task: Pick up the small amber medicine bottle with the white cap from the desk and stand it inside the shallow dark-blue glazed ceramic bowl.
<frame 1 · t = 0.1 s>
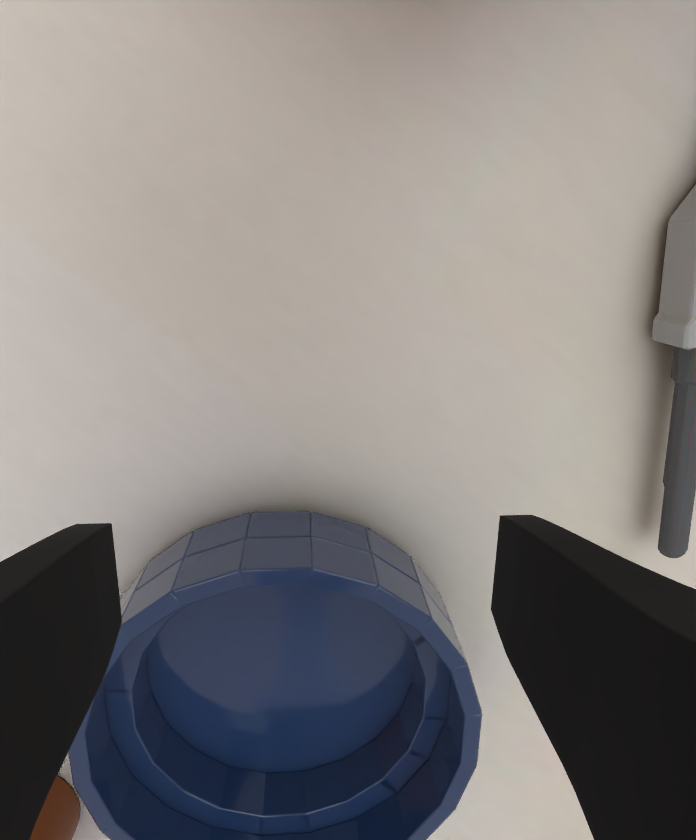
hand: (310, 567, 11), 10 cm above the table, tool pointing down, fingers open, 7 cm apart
bowl: (283, 656, 23), on the table
bottle: (20, 808, 24), on the table
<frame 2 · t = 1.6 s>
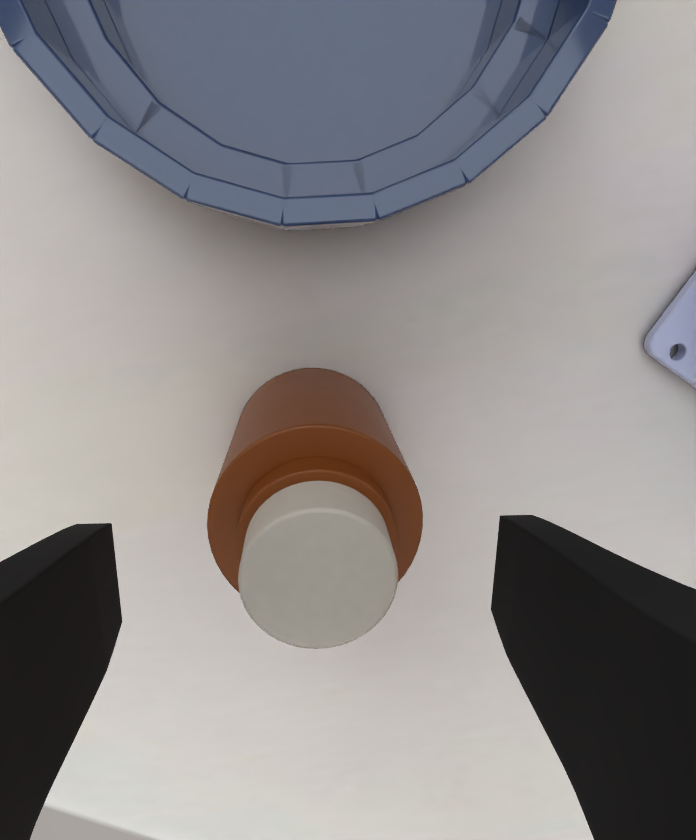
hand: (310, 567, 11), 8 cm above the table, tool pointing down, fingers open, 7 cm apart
bottle: (312, 441, 19), on the table
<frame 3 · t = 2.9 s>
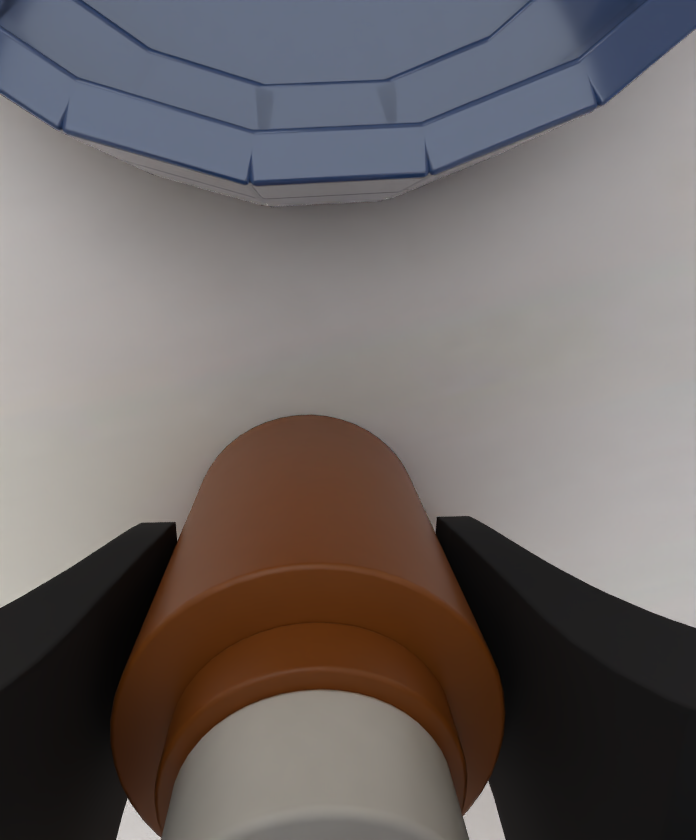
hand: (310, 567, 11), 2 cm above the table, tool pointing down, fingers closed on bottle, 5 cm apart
bottle: (307, 519, 13), on the table, touching gripper
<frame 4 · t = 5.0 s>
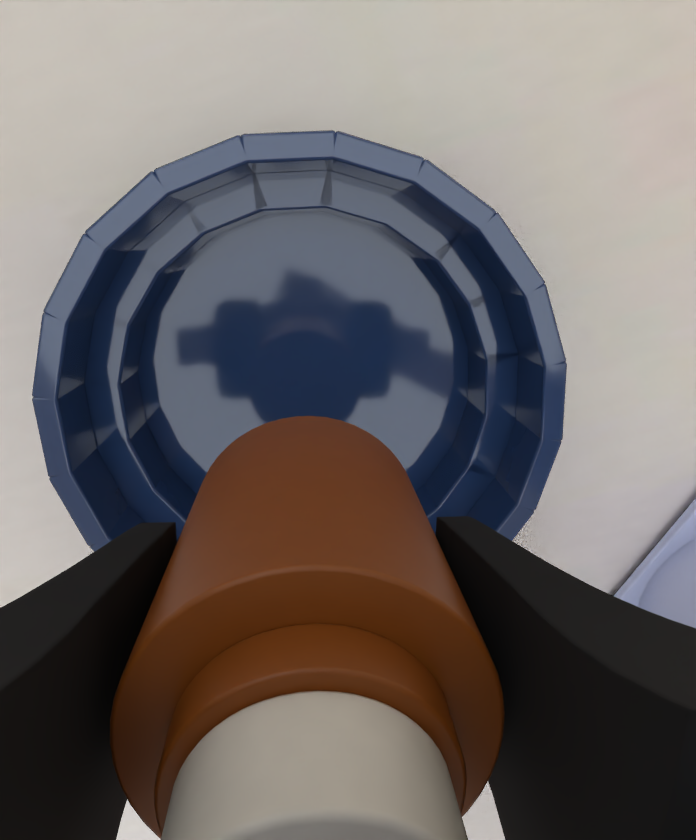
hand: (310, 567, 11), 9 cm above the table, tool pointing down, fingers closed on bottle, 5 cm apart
bowl: (307, 380, 19), on the table
bottle: (307, 520, 13), point 7 cm above the table, touching gripper
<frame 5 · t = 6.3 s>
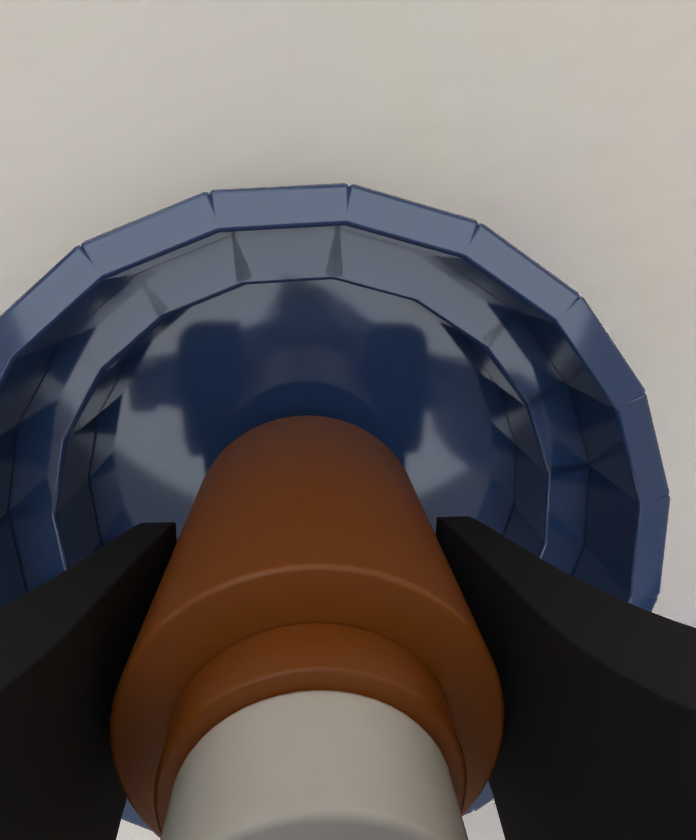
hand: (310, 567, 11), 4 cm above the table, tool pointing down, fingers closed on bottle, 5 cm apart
bowl: (308, 482, 15), on the table
bottle: (307, 519, 13), point 2 cm above the table, touching gripper
when the fingers open (3 cm above the table, at t = 7.3 s): bottle stays where it is, resting on bowl.
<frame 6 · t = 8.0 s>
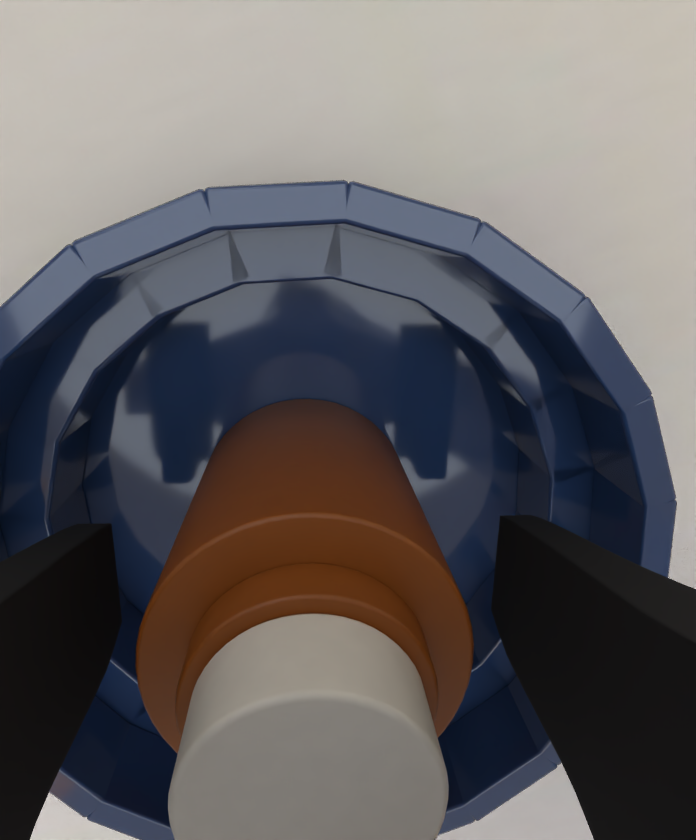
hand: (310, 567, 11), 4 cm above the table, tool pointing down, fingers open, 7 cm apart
bowl: (307, 485, 15), on the table
bottle: (305, 495, 14), point 1 cm above the table, touching bowl
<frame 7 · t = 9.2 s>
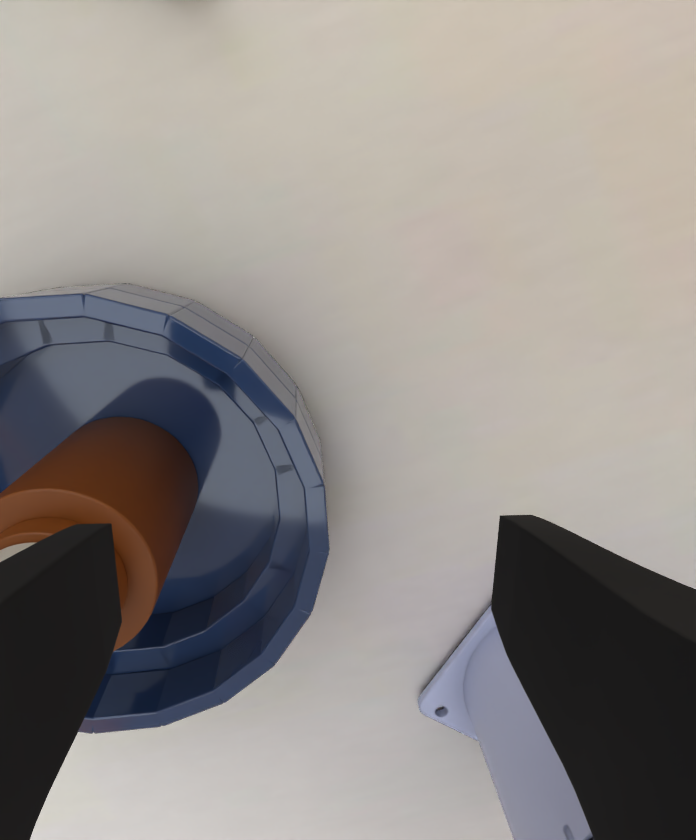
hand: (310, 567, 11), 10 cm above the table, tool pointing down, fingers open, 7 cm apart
bowl: (133, 477, 21), on the table
bottle: (126, 484, 20), point 1 cm above the table, touching bowl
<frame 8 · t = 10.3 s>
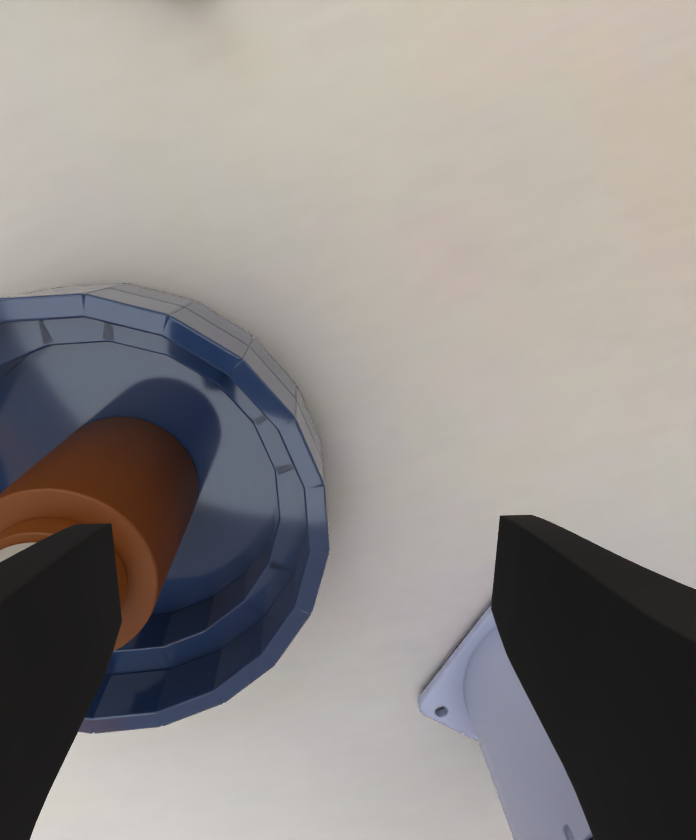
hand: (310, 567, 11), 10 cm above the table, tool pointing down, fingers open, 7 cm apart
bowl: (133, 477, 21), on the table
bottle: (126, 484, 20), point 1 cm above the table, touching bowl
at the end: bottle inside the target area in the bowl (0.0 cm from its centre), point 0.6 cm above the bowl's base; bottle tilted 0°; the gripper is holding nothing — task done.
